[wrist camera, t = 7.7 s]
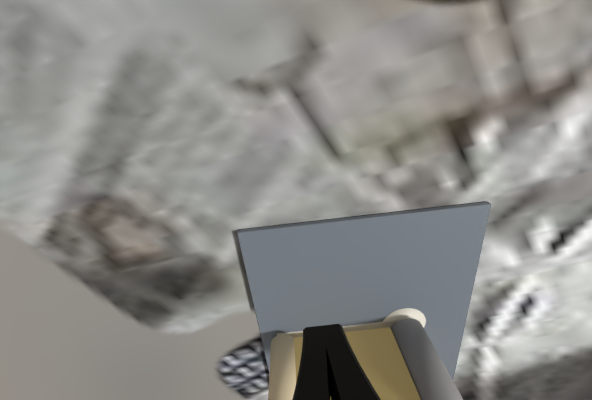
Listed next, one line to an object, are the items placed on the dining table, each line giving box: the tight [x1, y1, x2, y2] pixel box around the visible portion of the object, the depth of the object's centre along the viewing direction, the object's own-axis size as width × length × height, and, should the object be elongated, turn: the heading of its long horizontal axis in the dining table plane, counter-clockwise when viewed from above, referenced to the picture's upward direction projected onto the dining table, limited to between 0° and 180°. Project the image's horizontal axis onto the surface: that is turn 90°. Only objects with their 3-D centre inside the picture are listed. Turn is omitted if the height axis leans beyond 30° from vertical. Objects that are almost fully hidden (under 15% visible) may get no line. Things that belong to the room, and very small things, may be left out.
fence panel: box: [268, 318, 463, 400], centre depth 15 cm, size 9×2×5 cm, turn 96°
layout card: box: [237, 202, 491, 380], centre depth 17 cm, size 15×13×1 cm
